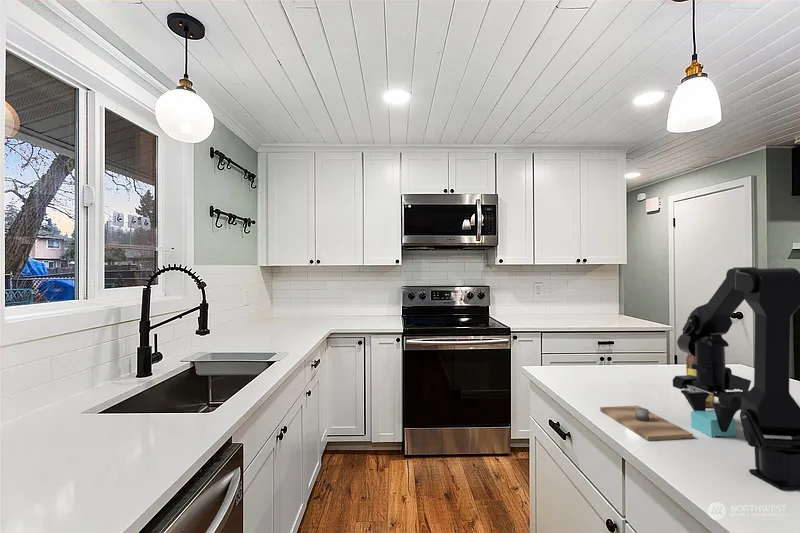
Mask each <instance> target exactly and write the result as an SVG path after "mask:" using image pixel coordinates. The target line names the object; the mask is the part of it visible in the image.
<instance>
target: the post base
mask: <svg viewBox="0 0 800 533" xmlns="http://www.w3.org/2000/svg"><path fill="white" fill-rule="evenodd" d="M599 410H600V412H601V413H603V414H605V415H606V416H608V417H609V418H611V419H612V420H614V421H616V422H617V423H618V424H620V425H622V426H623V427H625V428H626V429H628V430H630V431H632V432H633V433H635V434H636V435H637V436H639V437H641V438H643V439H644V440H646V441H649V442H650V441H652V442H653V441H667V440H669V441H670V440H682V439H681V438H690V439H693V438H694V434H693V433H692V432H690V431H688V430H686V429H684V428H682V427H680V426H678V425H677V424H675V423H672V422H671V421H669V420H667V419H665V418H663V417H661V416H659V415H658V414H655V413H654V412H651V411H649V409H647V408H644V407H641V406H639V405H638V404H636V405H622V406H620V405H617V406H601V407H599ZM692 437H693V438H692Z"/></svg>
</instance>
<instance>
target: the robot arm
mask: <svg viewBox="0 0 800 533" xmlns="http://www.w3.org/2000/svg"><path fill="white" fill-rule="evenodd" d="M725 274H726V275H725V279H724V280H723V281H722V283H721V284H720V285H719V287H718V288H717V289H716V291H715V293H713V295H712V296H711V298H710V299H709V300H708V302H706V303H705V304H702V305H699V306H697V307H696V308H694V309H693V310H692V311H691V313H690V314H689V315H688V317H687V319H686V322H685V324H684V326H683V327H682V329H681V330H682V334H680V336H679V337H678V339H677V341H676V343H677V346H678V349H679V350H680V351H682V352H683V353H686V354H687V355H688V354H690V355H692V356H695V357H696V364H691V365H692V369H695V370H696V376H693V375H686V374H685V375H675V376H674V377H673V379H672V387H673V388H676V389H679V390H680V393H681V394H682V395H683V396H684V398H685V399H686V401H687V402H688V404H689V405H690V407H691V408H692V411H707V410H706V409H707V407H706V399H707V397H708V396H709V395H713V396H714V398H715V397H716V398H717V399H718V403H715V402H714V403H713V406H712V408H713V410H715V413H716V417H717V420H718V424H719V427H720V429H721V431H722V432H727V430H728V428H729V426H730V423H731V421H732V419H733V418H735V417H734V416H735V415H736V414H737V412H738V411H740V412H739V418H740V422H741V429H742V431H743V436H744V439H745V441H746V442H747V445H748V446H749V447H752V448H754V461H755V462H754V463H755V464H754V466H755V468H750V469H748V472H749V473H750V474H752V475H754V476H755V477H757V478H759V479H761V480H763V481H764V482H766V483H768V484H770V485H772V486H773V487H776V488H778V489H779V490H796V489H800V406H799V404H798V403H797V401H796V399H794V397H793V396H792V395H791V393H790V379H791V378H790V369H791V368H790V367H791V323H792V322H791V321H792V316H793V315H794V314H795V312H796V311H797V310H798V309H799V308H800V271H799V270H797V268H793V267H769V268H767V267H762V268H759V267H755V266H743V267H732V268H729V269H728V270H727V271H726V273H725ZM744 300H745V302H746V303H747V305H748V306H749V308H750V309H751V310H752V311H753V312H754V362H753V363H754V368H753V370H754V372H753V373H754V375H753V379H754V380H753V387H751V389H750V386H751V383H752V380H750V379H747V378H744V377H741V376H739V375H736V374H733V372H732V371H733V370H732V369H731V368H730V367H727V366H726V347H727V348H728V347H729V343H728V341H727V340H726V339H724V338H723V335H727V333H728V332H729V331H730V329H731V327H732V325H733V323H734V322H733V320H732V315H733V313H735V312H736V310H737V309H738V308H739V306H740V305H741V304H742V303H743V302H744ZM735 390H737V391H735ZM765 436H776V437H791V438H774V437H773V438H772V437H765Z"/></svg>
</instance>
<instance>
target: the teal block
mask: <svg viewBox="0 0 800 533" xmlns="http://www.w3.org/2000/svg"><path fill="white" fill-rule="evenodd" d="M690 419H691V421H690V423H691V424H690V425H691V428H692V427H693V428H692V429H694V428H695V429H694V430H696V429H697V430H696V431H698V430H699V431H698V432H700V431H701V432H700V433H702V432H703V433H702V434H704V433H706V434H708V435H710V436H726V437H736V435H737V434H736V431H737V430H736V418H735V417H733V419H732V421H731V423H730V426H729V428H728V430H727V432H722V431H721V429H720V427H719V424H718V420H717V417H716V413H715V410H714V409H713V410H712V409H711V410H710V409H707V410H706V411H694V410H692V411H690ZM706 434H705V435H706ZM708 435H707V436H708ZM710 436H709V437H710Z"/></svg>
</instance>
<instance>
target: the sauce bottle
mask: <svg viewBox="0 0 800 533" xmlns="http://www.w3.org/2000/svg"><path fill="white" fill-rule="evenodd" d="M685 364H686V365H685V366H686V367H685V375H693V376H696V370H695V369H692V365H691V364H696V357H695V356H692V355H690V354H688V353H687V356H686V357H685ZM713 403H715V396H713V395H709V396H708V397H707V399H706V408H713Z"/></svg>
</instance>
